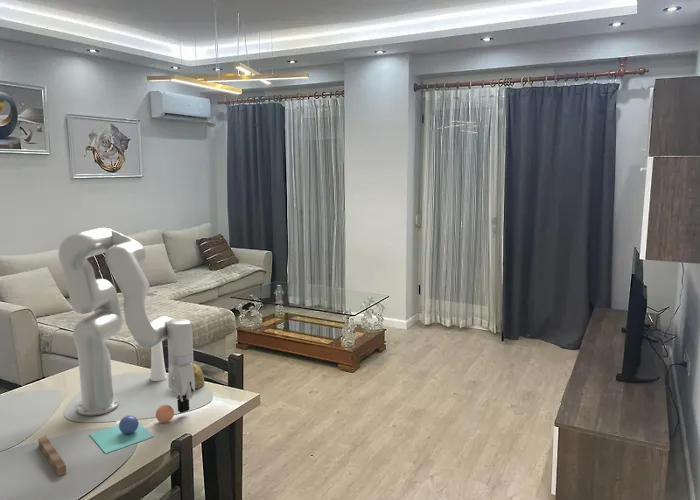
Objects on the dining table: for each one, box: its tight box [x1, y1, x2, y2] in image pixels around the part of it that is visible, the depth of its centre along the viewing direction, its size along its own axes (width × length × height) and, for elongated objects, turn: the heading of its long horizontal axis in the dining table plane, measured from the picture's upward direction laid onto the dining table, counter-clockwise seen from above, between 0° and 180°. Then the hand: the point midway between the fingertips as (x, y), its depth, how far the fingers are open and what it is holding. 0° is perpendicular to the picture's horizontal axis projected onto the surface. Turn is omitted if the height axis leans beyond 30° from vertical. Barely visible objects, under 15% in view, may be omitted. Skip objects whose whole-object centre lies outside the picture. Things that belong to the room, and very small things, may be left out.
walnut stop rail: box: [37, 435, 67, 477], centre depth 150 cm, size 20×2×2 cm, turn 42°
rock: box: [192, 362, 206, 390], centre depth 198 cm, size 10×11×10 cm
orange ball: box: [155, 404, 175, 424], centre depth 171 cm, size 6×6×6 cm
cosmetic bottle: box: [149, 341, 168, 382], centre depth 203 cm, size 6×6×22 cm
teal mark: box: [89, 421, 155, 454], centre depth 163 cm, size 14×14×1 cm
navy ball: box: [118, 415, 140, 434], centre depth 164 cm, size 6×6×6 cm
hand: (183, 410), depth 176 cm, fingers closed
